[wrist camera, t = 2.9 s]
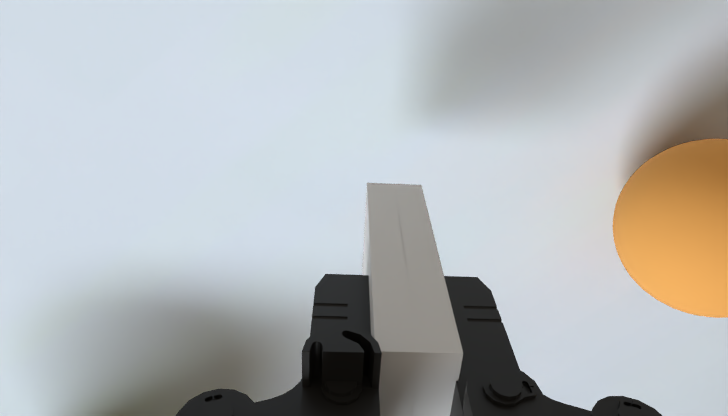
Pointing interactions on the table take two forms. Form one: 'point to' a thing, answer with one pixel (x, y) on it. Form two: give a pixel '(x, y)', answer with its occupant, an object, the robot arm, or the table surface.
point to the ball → (678, 227)
